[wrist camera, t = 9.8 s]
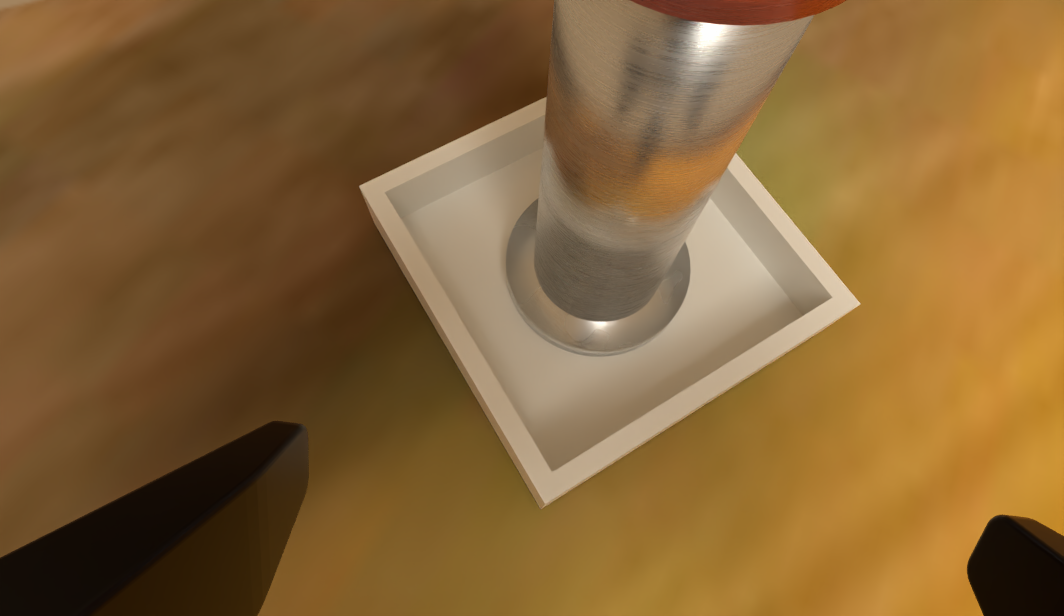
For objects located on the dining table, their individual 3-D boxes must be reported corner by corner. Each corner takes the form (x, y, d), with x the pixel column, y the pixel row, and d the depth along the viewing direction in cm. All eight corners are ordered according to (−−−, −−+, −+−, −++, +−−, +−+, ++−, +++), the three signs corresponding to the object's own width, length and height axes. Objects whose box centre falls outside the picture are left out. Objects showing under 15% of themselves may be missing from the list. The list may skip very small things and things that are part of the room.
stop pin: (693, 355, 20) (1063, -30, 7) (506, 357, 20) (498, -35, 7) (674, 192, 23) (928, -352, 9) (505, 193, 22) (497, -365, 9)
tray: (822, 330, 22) (860, 304, 19) (540, 509, 19) (545, 503, 17) (635, 94, 25) (649, 48, 22) (374, 223, 22) (358, 186, 20)
